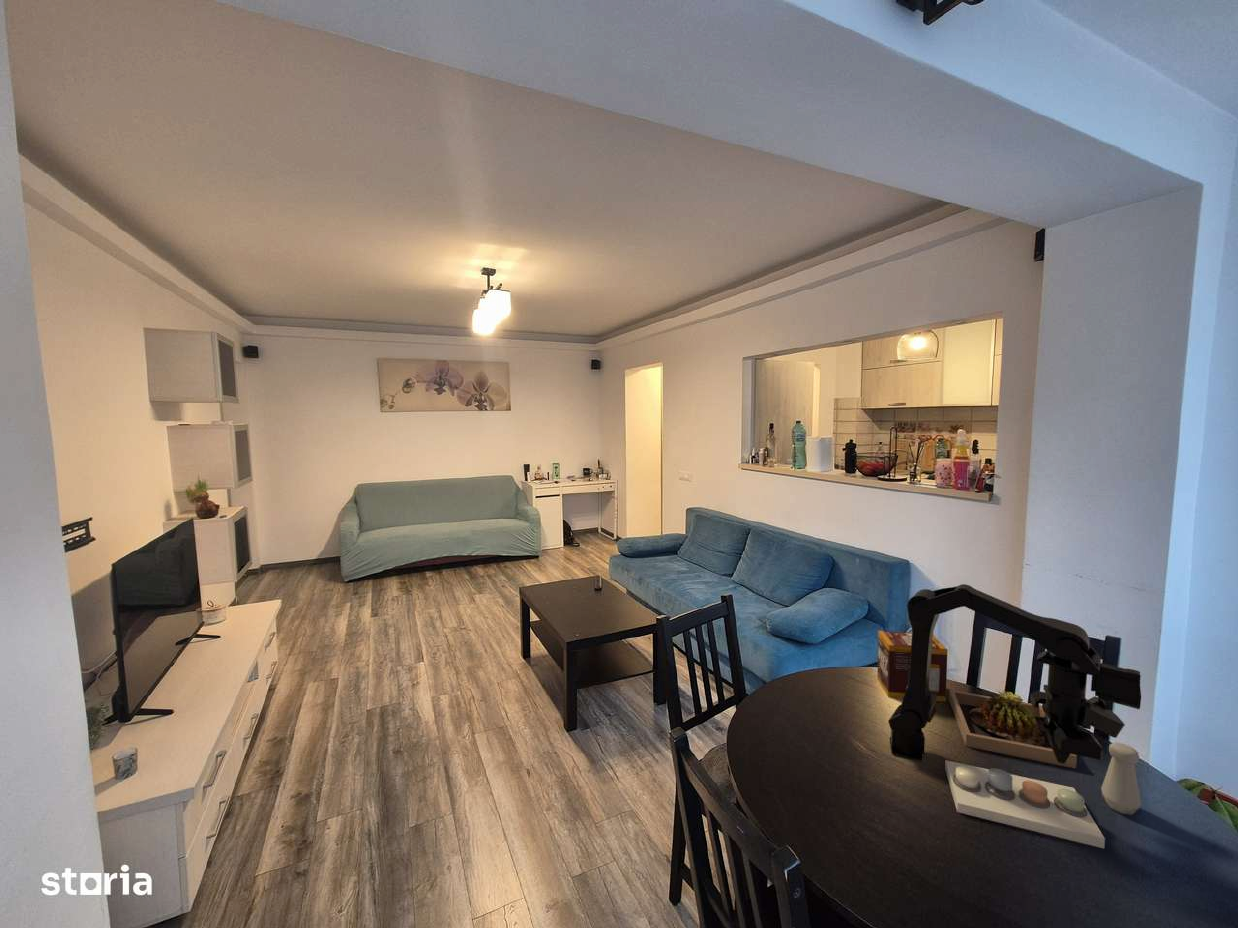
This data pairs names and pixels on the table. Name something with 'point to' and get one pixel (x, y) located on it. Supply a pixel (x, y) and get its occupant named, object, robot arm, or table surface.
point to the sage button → (1071, 800)
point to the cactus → (1009, 720)
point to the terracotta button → (1034, 792)
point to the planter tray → (1000, 744)
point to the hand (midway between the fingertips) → (1060, 761)
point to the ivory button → (966, 777)
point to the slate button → (1000, 779)
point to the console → (1022, 807)
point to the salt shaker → (1122, 780)
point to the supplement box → (908, 664)
